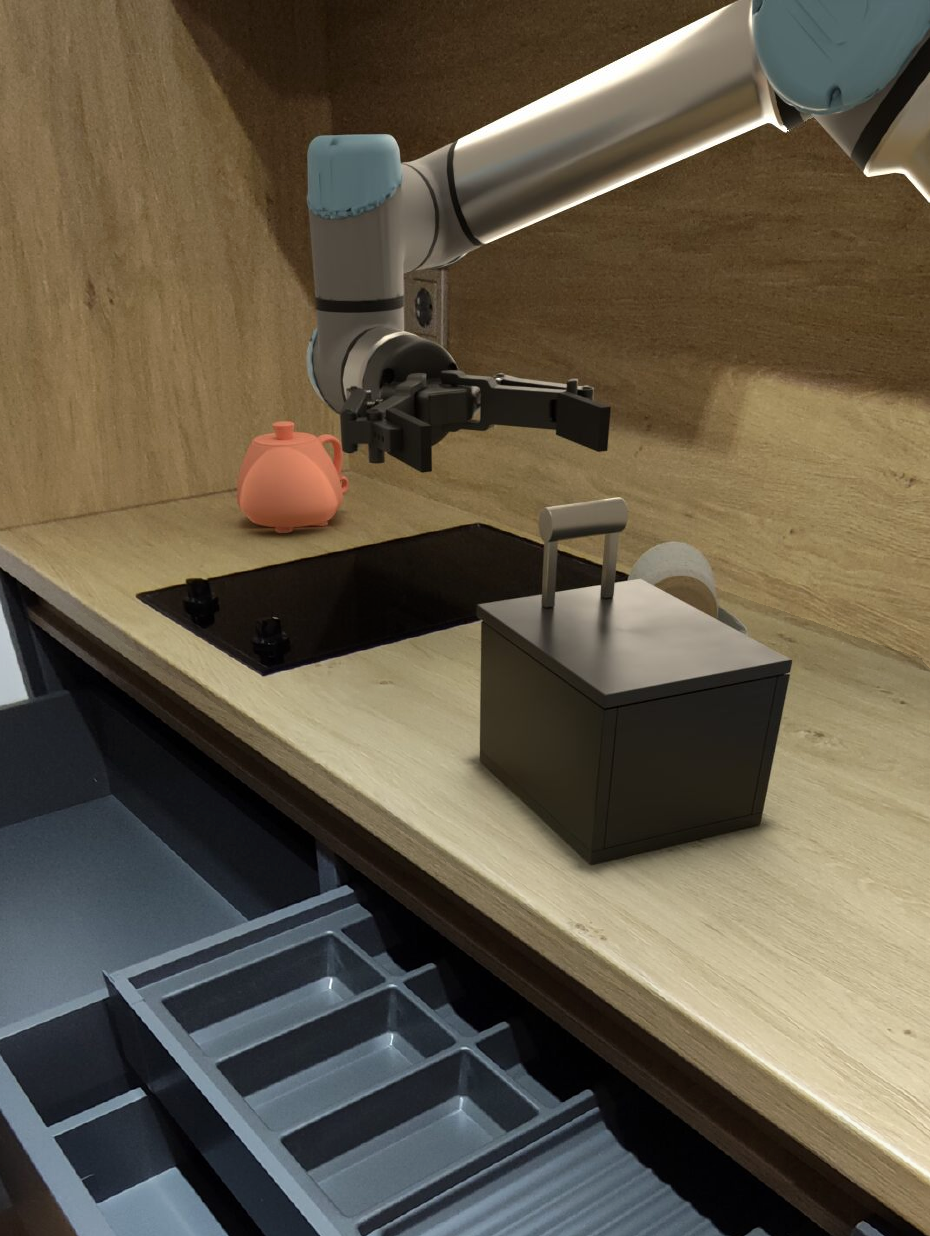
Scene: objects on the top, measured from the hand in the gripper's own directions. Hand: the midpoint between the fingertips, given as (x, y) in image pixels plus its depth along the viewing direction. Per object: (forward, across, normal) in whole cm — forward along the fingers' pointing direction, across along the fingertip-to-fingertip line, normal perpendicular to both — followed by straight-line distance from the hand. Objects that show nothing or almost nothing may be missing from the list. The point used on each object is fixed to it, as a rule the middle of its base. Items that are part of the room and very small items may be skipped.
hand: (518, 439), depth 76 cm
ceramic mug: (-6, -20, -19) cm, 28 cm away
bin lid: (+16, 0, -9) cm, 18 cm away
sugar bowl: (-61, -2, -19) cm, 64 cm away
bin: (+16, 0, -19) cm, 25 cm away
